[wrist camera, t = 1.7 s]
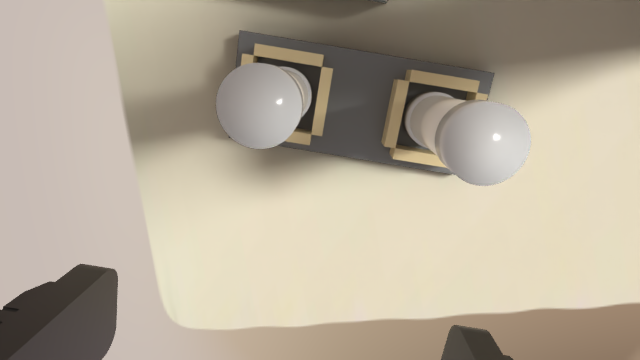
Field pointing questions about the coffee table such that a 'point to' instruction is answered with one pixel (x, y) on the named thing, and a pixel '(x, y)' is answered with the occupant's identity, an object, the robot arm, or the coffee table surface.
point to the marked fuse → (262, 103)
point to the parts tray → (382, 0)
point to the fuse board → (362, 97)
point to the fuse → (469, 135)
